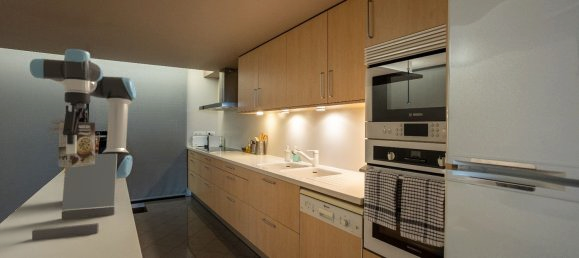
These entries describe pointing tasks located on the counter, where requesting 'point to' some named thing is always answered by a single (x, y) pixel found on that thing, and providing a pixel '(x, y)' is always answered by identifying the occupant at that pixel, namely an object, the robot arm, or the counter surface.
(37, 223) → the counter surface
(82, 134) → the coffee box
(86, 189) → the panel
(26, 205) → the counter surface
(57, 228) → the rails
